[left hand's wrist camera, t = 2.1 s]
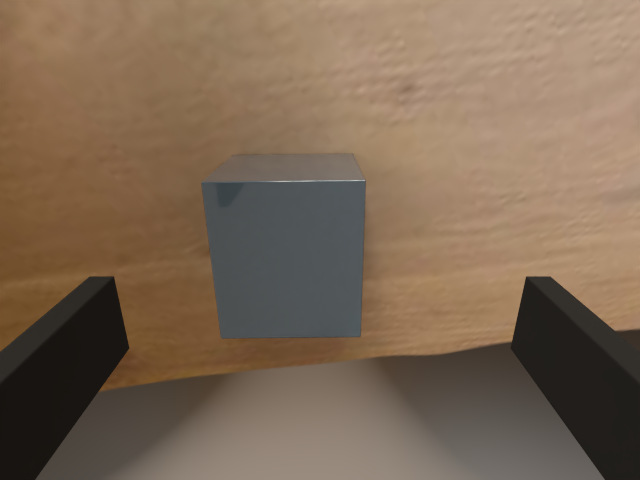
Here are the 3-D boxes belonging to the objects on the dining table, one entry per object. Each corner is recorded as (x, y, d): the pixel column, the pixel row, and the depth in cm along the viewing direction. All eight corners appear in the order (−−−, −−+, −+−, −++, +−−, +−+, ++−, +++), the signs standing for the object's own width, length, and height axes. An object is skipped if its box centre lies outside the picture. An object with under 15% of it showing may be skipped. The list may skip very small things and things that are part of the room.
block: (350, 277, 30) (360, 337, 23) (243, 278, 30) (220, 338, 23) (353, 153, 26) (365, 180, 19) (232, 154, 26) (200, 181, 19)
